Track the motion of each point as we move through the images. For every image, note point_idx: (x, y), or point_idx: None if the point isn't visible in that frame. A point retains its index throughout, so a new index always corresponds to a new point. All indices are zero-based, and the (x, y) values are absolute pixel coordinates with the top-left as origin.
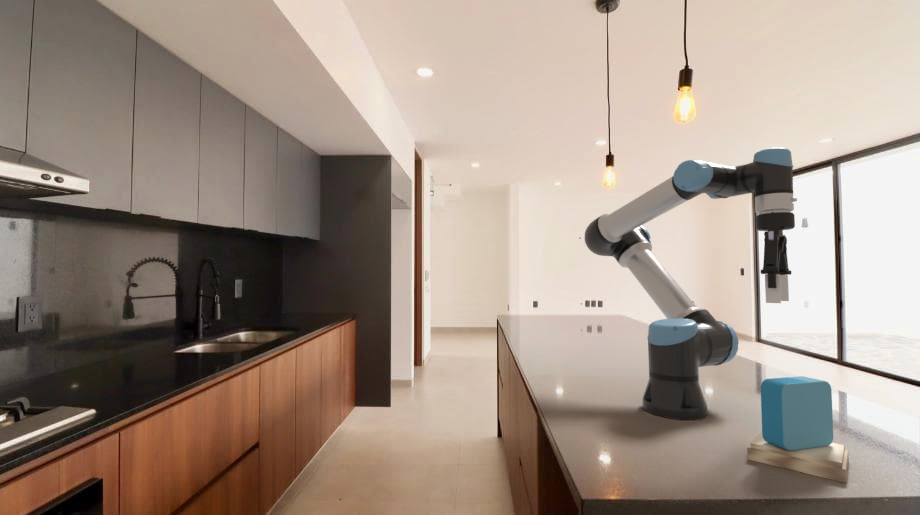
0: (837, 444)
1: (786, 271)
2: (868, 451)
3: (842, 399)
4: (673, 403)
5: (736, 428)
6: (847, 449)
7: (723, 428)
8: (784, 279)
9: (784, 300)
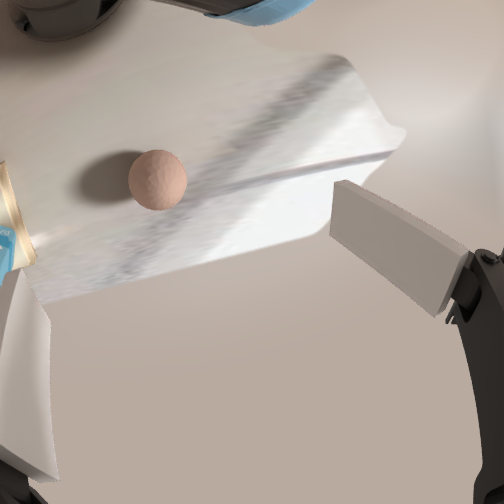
0: (23, 259)
1: (457, 322)
2: (99, 253)
3: (361, 159)
4: (10, 11)
5: (42, 103)
6: (33, 263)
7: (25, 92)
8: (417, 287)
9: (331, 222)
